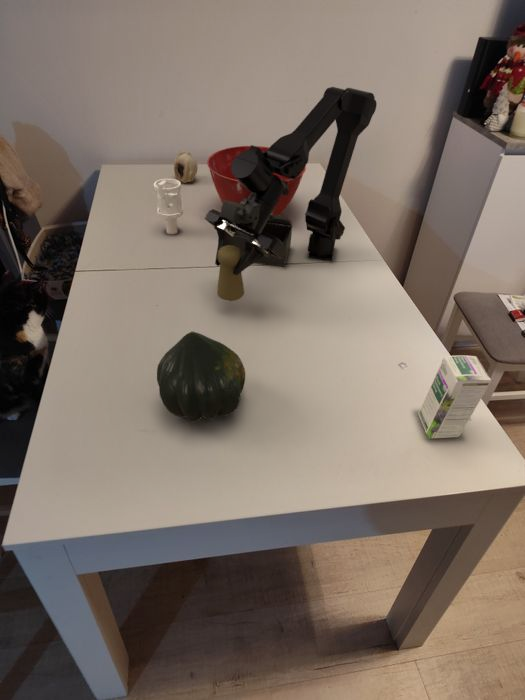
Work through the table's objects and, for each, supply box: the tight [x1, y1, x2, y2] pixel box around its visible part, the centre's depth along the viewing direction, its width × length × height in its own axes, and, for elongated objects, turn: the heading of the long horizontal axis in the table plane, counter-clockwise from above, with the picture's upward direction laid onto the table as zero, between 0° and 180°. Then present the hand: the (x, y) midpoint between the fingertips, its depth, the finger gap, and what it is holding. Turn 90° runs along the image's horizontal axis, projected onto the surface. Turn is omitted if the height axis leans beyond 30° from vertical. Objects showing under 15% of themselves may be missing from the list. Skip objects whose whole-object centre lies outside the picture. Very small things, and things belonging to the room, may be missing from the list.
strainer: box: [153, 178, 184, 235], centre depth 122 cm, size 7×7×15 cm
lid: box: [267, 212, 293, 227], centre depth 113 cm, size 10×15×5 cm
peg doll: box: [216, 245, 245, 302], centre depth 95 cm, size 6×6×11 cm
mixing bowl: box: [206, 145, 307, 216], centre depth 133 cm, size 28×28×16 cm
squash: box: [156, 330, 246, 423], centre depth 77 cm, size 14×15×15 cm
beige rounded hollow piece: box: [173, 150, 199, 184], centre depth 152 cm, size 9×8×10 cm
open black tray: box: [233, 223, 293, 268], centre depth 118 cm, size 10×15×7 cm, turn 78°
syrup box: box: [417, 354, 492, 439], centre depth 74 cm, size 6×6×14 cm
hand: (225, 269), depth 93 cm, fingers closed on peg doll, 5 cm apart
